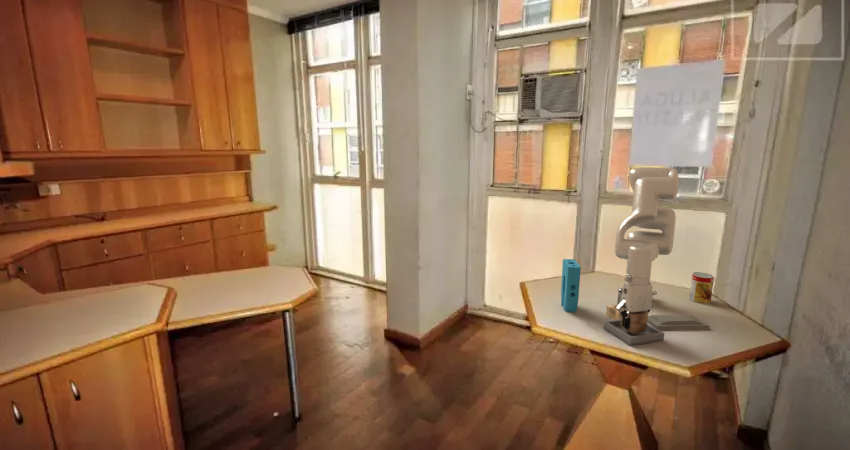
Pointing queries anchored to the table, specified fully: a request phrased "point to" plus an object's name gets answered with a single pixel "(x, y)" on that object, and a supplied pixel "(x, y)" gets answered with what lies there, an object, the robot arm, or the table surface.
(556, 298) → the table surface
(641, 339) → the tray
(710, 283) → the canned food
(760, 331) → the table surface
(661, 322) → the soap mold
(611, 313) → the oak block
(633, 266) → the robot arm
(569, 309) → the block
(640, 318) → the walnut block
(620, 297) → the gauge pin
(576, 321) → the table surface
